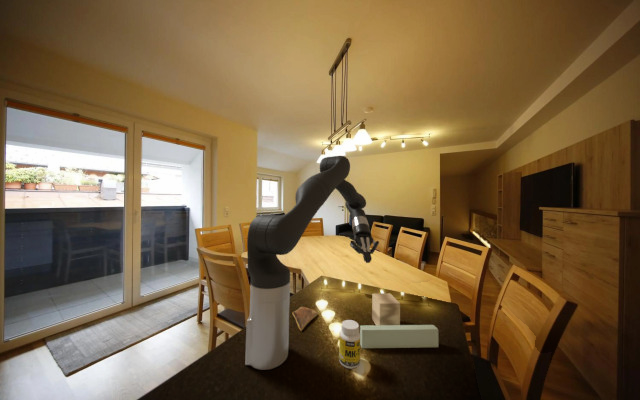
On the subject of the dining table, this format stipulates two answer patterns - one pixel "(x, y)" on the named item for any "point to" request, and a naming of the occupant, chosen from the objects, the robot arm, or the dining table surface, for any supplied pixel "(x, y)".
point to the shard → (304, 316)
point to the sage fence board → (398, 336)
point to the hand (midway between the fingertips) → (368, 261)
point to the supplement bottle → (349, 344)
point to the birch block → (385, 309)
